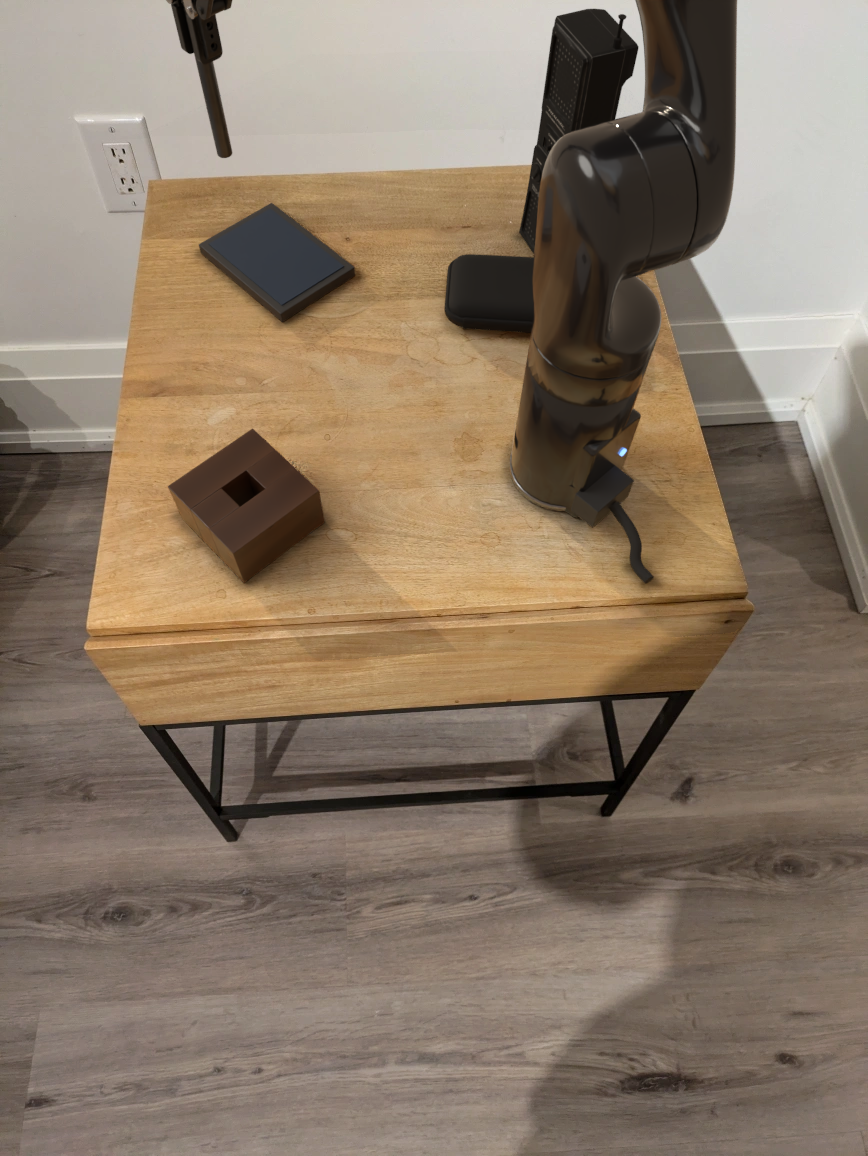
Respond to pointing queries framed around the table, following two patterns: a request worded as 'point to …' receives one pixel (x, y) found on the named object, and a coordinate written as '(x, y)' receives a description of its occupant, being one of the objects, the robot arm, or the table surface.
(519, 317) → the carrying case
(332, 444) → the table surface
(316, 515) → the pen stand
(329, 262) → the tablet
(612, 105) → the portable radio
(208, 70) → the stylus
